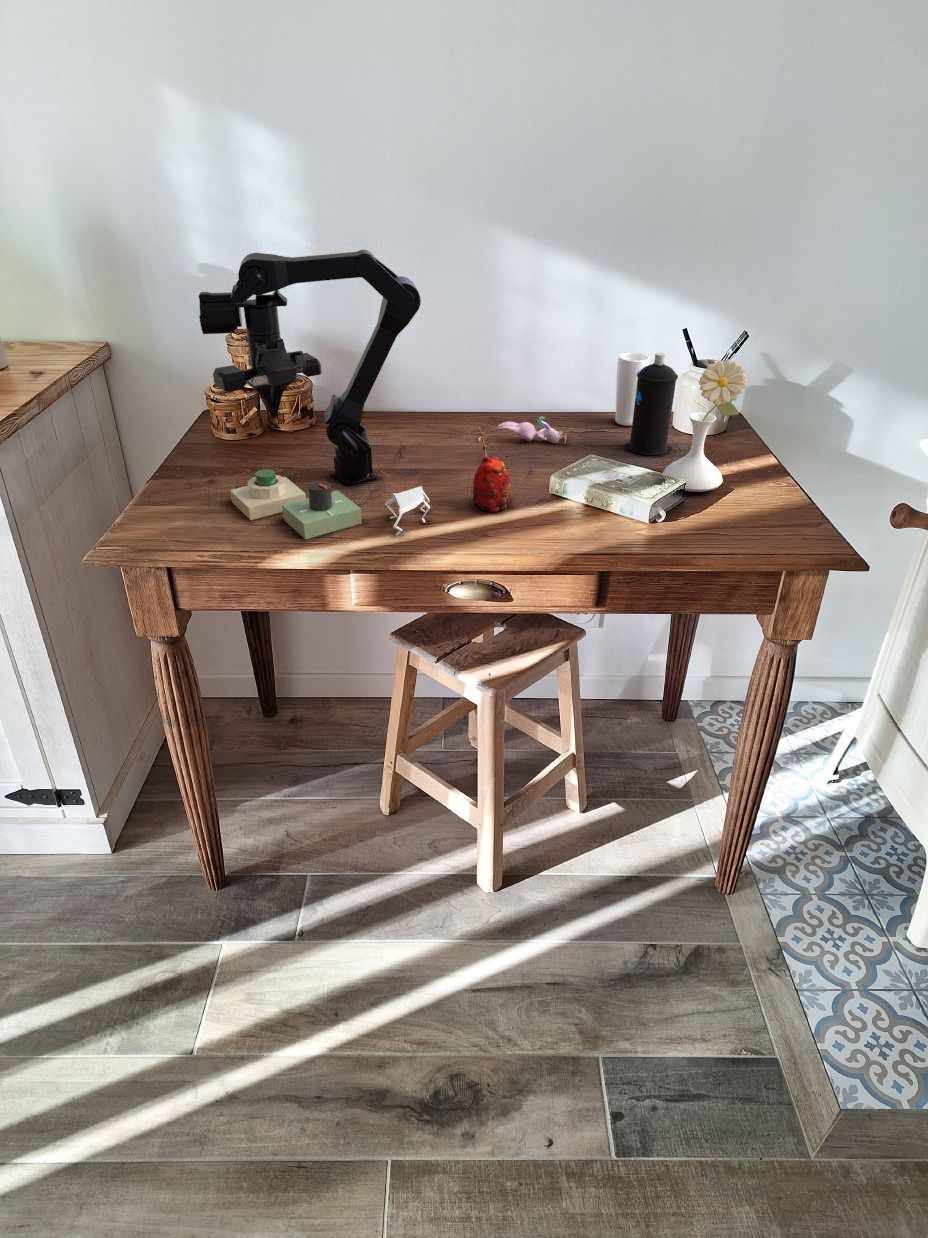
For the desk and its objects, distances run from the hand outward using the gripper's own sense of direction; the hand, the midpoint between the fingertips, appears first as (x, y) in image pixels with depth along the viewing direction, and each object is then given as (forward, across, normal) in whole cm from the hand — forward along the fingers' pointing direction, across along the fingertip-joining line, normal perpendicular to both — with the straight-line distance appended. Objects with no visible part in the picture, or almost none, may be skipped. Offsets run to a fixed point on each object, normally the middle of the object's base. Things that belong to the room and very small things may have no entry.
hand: (273, 417), depth 158 cm
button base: (+13, -6, -8) cm, 16 cm away
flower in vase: (+13, +66, -46) cm, 82 cm away
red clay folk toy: (+13, +28, -31) cm, 44 cm away
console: (+13, -1, -20) cm, 24 cm away
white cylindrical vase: (+13, +79, -13) cm, 81 cm away
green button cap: (+9, -6, -8) cm, 13 cm away
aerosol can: (+13, +72, -27) cm, 78 cm away
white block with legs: (+13, +11, -29) cm, 34 cm away
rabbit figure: (+13, +54, -10) cm, 57 cm away
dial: (+10, -1, -20) cm, 22 cm away
